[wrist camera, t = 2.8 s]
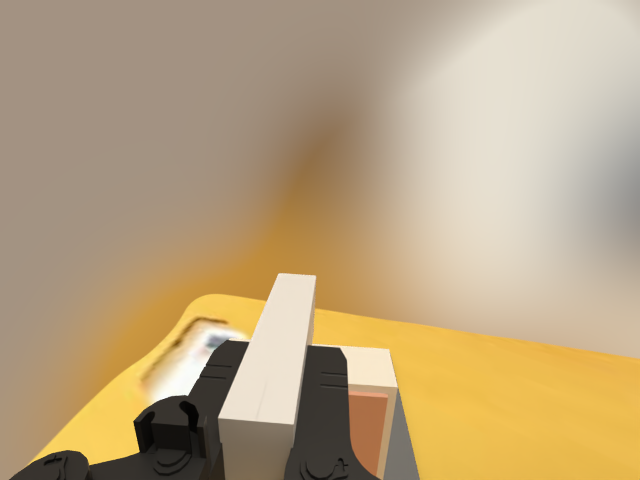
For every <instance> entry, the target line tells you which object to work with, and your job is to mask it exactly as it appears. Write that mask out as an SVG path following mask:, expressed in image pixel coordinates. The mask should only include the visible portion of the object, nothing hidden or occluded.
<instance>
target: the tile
mask: <svg viewBox="0 0 640 480" xmlns="http://www.w3.org/2000/svg"><path fill="white" fill-rule="evenodd" d="M229 340H232V341H246V342H250V341H251V340H248V339H234V338H230V339H229ZM312 345H313V346H326V347H339V348H340V349H341V350H342V352H343V354H344V355H345V357H346V359H347V368H348V393H349V417H350V439H351V445H352V449H353V451H354V454H355V456H356V458H357V459H358V460H359V462H360V463H361V465H362V466H363V467H364V468H365V469H366V470H367V471H369V472H370V473H371V474H372V475H374V476H376V477H378V478H379V479H381V480H383V477H384V470H385V464H386V458H387V452H388V445H389V439H390V433H391V427H392V420H393V414H394V408H395V402H396V395H397V389H398V386H397V382H396V377H395V373H394V369H393V365H392V360H391V356H390V352H389V349H379V348H365V347H350V346H336V345H321V344H312Z"/></svg>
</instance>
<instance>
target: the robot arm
mask: <svg viewBox="0 0 640 480" xmlns="http://www.w3.org/2000/svg"><path fill="white" fill-rule="evenodd" d="M315 289H316V276H313V275H299V274H284V273H283V274H282V273H279V274H278V277H277V279H276V281H275V284H274V286H273V289H272V291H271V293H270V295H269V298H268V300H267V303H266V305H265V307H264V310H263V312H262V314H261V317H260V319H259V322H258V324H257V326H256V329H255V331H254V334H253V336H252V338H251V341H250V342H246V341H232V340H226V341H225V342H224V343H223V344H221V345H220V346H219V347H218V348H216V349H215V350H214V351H213V353H212V355H211V356H210V358H209V360H208V362H207V363H206V367H204V369H203V370H202V372H201V374H200V377H199V379H197V381H196V383H195V384H194V386H193V388H192V390H191V392H190V393H189V395H188V396H186V395H181V396H171V397H168V398H165V399H162V400H160V401H157V402H155V403H154V404H152V405H151V406H149V407H148V408H146V409H145V410H143V412H142V413H141V414H140V415H139V416H138V417H137V418H136V419H135V420H134V421H133V422H134V427H135V432H136V436H137V441H138V446H139V450H140V452H139V453H137V454H134V455H131V456H127V457H124V458H120V459H116V460H111V461H107V462H102V463H98V464H94V465H89V463H88V460H87V458H86V457H85V456H84V455H83V454H82V453H81V452H78V451H70V450H66V451H61V452H56V453H52V454H49V455H47V456H45V457H43V458H41V459H39V460H36V461H34V462H32V463H31V464H30V465H28V466H27V467H25V468H24V469H23V470H21V471H20V472H18V473H17V474H15V475H14V476H13V477H12V478H11V479H9V480H381V479H379V478H378V477H376V476H374V475H372V474H371V473H370V472H369V471H367V470H366V469H365V468H364V467H363V466H362V465H361V463H360V462H359V460H358V459H357V458H356V456H355V454H354V451H353V449H352V445H351V439H350V417H349V393H348V368H347V359H346V357H345V355H344V354H343V352H342V350H341V349H340V348H339V347H326V346H313V345H312V341H313V332H314V311H315Z"/></svg>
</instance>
